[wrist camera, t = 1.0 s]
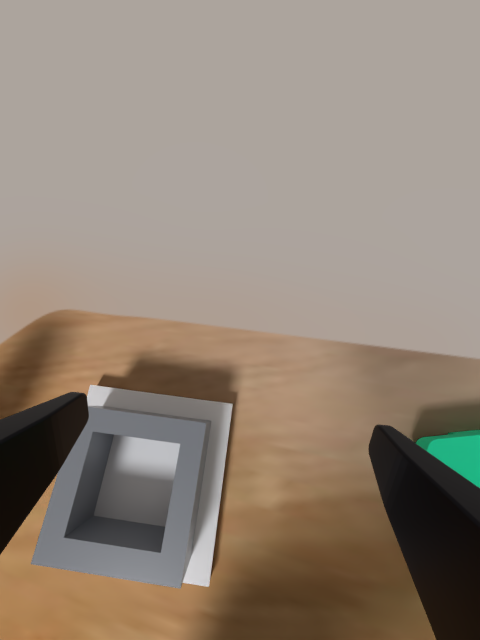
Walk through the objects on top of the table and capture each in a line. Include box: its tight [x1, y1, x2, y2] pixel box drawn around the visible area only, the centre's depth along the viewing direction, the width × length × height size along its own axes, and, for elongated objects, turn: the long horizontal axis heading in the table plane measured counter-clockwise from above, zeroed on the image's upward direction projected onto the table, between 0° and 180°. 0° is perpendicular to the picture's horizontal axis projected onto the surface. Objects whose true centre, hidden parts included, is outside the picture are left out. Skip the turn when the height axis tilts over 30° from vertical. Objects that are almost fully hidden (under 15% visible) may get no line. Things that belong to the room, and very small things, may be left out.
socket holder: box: [31, 385, 233, 588], centre depth 19 cm, size 12×12×4 cm
